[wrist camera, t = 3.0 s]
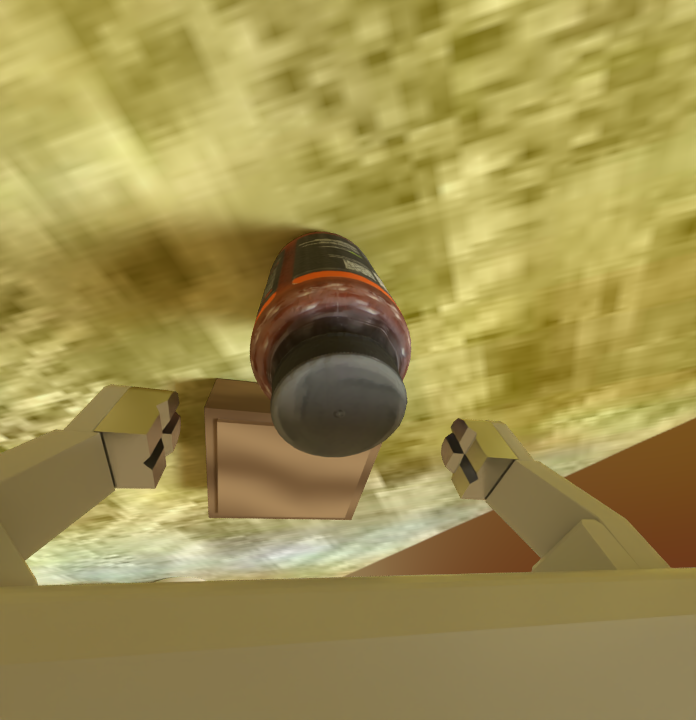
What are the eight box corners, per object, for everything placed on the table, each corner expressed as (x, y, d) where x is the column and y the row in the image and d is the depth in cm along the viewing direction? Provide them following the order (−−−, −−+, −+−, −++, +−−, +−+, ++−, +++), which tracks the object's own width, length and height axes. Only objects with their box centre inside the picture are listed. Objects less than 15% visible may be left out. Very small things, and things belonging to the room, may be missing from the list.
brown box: (216, 378, 21) (202, 411, 18) (381, 395, 23) (390, 426, 21) (218, 484, 27) (207, 521, 24) (347, 489, 29) (351, 523, 27)
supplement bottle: (283, 333, 19) (259, 492, 10) (259, 236, 16) (190, 339, 7) (374, 320, 20) (434, 464, 10) (368, 222, 16) (449, 302, 7)
